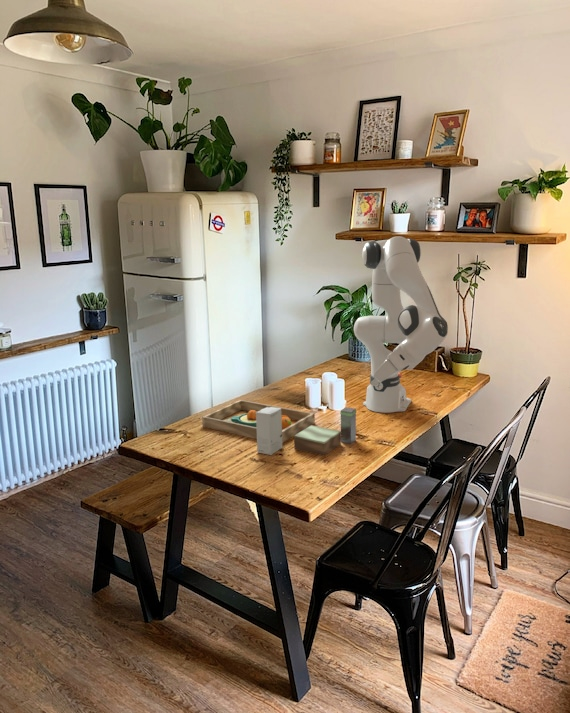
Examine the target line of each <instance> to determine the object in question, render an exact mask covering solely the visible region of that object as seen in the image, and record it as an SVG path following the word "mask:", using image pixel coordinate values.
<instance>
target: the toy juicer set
mask: <svg viewBox="0 0 570 713" xmlns="http://www.w3.org/2000/svg"><path fill="white" fill-rule="evenodd" d="M256 412H257V411H255V410H250V411H247V412H246V413H243V414H240V415H236V416H232V417H230V418H226V419H223V420H224V421H228V422H233V423H238V424H243V425H247V426H252V427H256ZM281 419H282V430H284V429H285V428H287V427H289V426H291V425H292V420H291V419H289V417H288V416H286V415H281Z"/></svg>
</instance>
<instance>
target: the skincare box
mask: <svg viewBox="0 0 570 713" xmlns="http://www.w3.org/2000/svg"><path fill="white" fill-rule="evenodd" d="M256 428H257V439H256V449H257V451H256V452H257V453H259V454H264V455H267V456H272V455H273V454H275V453H276V452H278V451H279V450H281V449H282V448H283V442H282V430H283V429H282V419H281V408H275V407H266V408H264V409H261V410H260V411H258V412H256Z"/></svg>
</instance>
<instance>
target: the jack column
mask: <svg viewBox="0 0 570 713" xmlns="http://www.w3.org/2000/svg"><path fill="white" fill-rule="evenodd" d="M339 414H340V431H341V443H344V444H348V445H352V444H353V443H355V442H356V439H357V435H356V434H357V433H356V432H357V409H356V408H351V407H347V406H345V407H344V408H342V409H340V413H339Z"/></svg>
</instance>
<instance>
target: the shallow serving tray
mask: <svg viewBox="0 0 570 713" xmlns="http://www.w3.org/2000/svg"><path fill="white" fill-rule="evenodd" d="M266 407H275V408H281V415H286V416H288V417H289V419H290V420H291V419H292V420H291V421H296V420H297V421H296V422H295V423H291V426H289V427H287V428H285V429H282V443H285V442H286V441H287V440H289V439H290V438H293V437H294V435H296V434H298V433H299V432H301V431H303V430H304V429H306V428H308V427H309V426H311V425H312V426H313V425H314V424H315V419H316V418H315V415H316V414H315V413H314V412H309V411H302V410H298V409H293V408H286V407H281V406H276V405H272V404H271V405H270V404H266V403H259V402H254V401H248V400H243V399H239V400H237V401H235V402H233V403H231V404H228V405H226V406H224V407H221V408H219V409H218V410H215V411H213V412H210V413H207V414H206V415H203V416H202V417H201V421H202V427H203V428H206V427H207V429H210V428H212V429H211V430H215V429H216V430H215V431H219V430H220V432H224V431H225V432H224V433H228V432H229V433H230V434H232V435H233V434H234V435H237V436H238V435H239V436H242V437H247V438H250V439H256V440H257V428H256V427H252V426H247V425H243V424H239V423H237V422H235V423H233V422H228V421H224V420H225V418H228V417H229V416H232V415H233V414H236V413H237V412H240V411H245V412H249V411H250V410H255V411H257V412H258V411H260V410H261V409H264V408H266Z"/></svg>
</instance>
